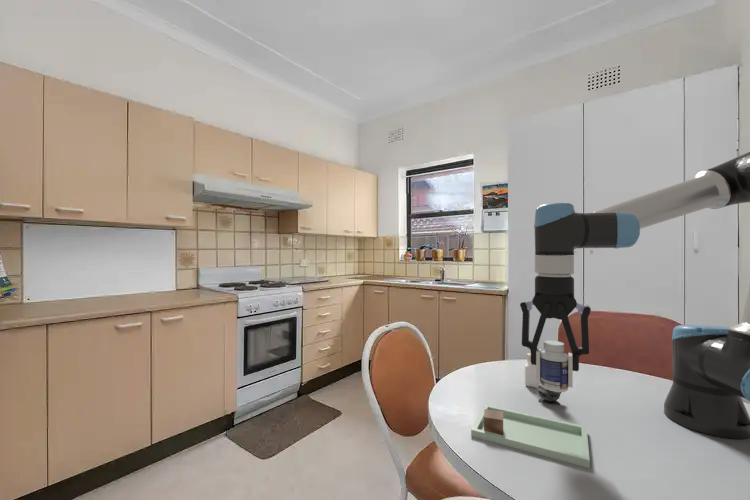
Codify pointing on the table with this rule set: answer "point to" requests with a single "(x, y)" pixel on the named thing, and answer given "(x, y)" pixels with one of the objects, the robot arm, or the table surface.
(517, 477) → the table surface
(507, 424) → the tray
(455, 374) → the table surface
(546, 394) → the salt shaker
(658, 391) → the table surface
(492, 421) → the walnut block
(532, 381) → the salt shaker
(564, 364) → the pill bottle
